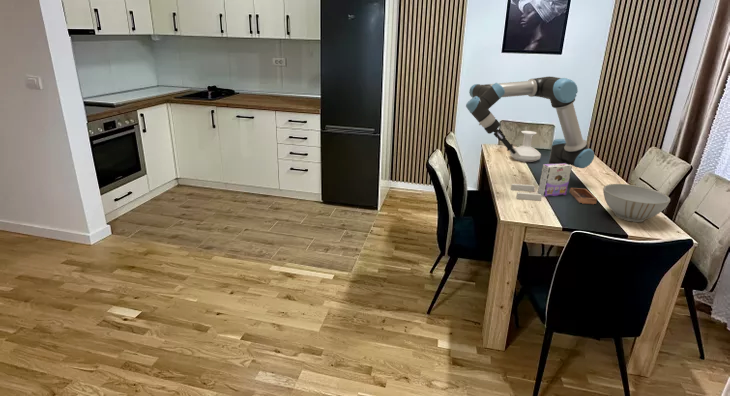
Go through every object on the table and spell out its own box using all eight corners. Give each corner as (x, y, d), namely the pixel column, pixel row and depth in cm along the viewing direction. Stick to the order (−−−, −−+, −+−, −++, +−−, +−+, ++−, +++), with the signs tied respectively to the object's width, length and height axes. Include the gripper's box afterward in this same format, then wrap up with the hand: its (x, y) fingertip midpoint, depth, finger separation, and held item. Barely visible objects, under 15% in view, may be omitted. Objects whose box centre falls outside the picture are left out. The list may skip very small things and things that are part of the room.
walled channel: (533, 190, 233) (534, 185, 232) (540, 200, 218) (542, 195, 217) (510, 188, 234) (511, 183, 233) (516, 199, 219) (517, 193, 218)
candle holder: (542, 159, 296) (547, 132, 289) (536, 165, 280) (541, 136, 273) (513, 154, 306) (517, 128, 299) (505, 160, 290) (510, 132, 283)
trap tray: (584, 193, 230) (585, 188, 229) (595, 204, 215) (597, 199, 214) (569, 192, 231) (570, 187, 230) (579, 203, 216) (580, 197, 215)
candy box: (559, 191, 232) (565, 162, 226) (566, 195, 227) (572, 166, 221) (537, 192, 229) (542, 163, 223) (543, 196, 224) (549, 166, 218)
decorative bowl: (637, 232, 184) (644, 206, 180) (585, 210, 207) (590, 186, 203) (676, 224, 195) (684, 199, 190) (622, 203, 218) (628, 181, 213)
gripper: (481, 125, 222) (509, 158, 227) (485, 130, 210) (514, 165, 215) (493, 116, 220) (521, 149, 224) (498, 120, 208) (527, 155, 212)
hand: (518, 157), depth 219 cm, fingers closed
